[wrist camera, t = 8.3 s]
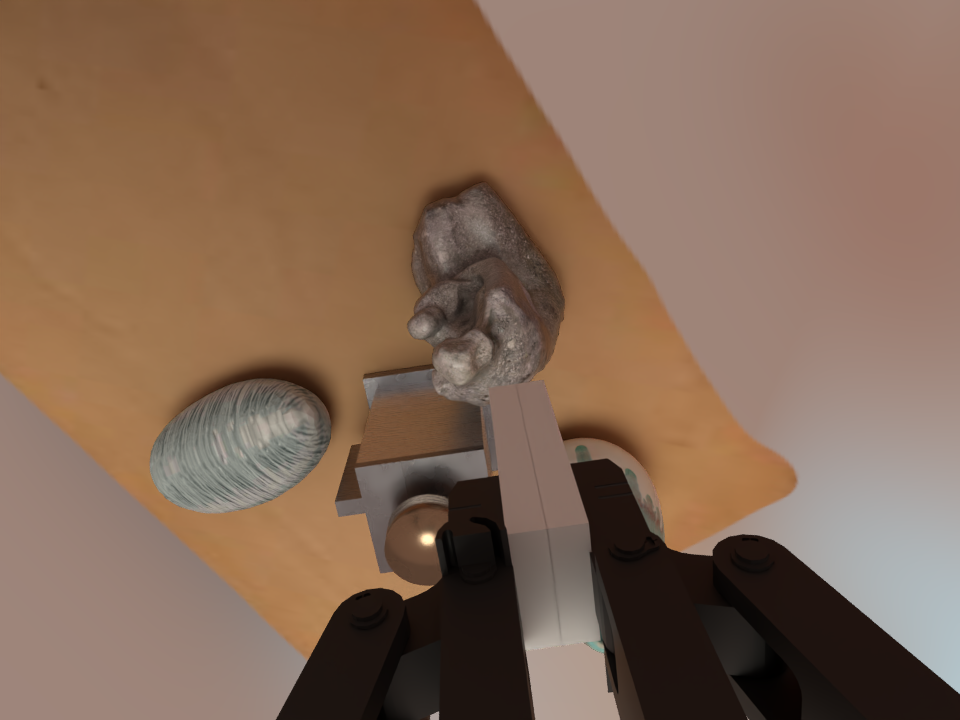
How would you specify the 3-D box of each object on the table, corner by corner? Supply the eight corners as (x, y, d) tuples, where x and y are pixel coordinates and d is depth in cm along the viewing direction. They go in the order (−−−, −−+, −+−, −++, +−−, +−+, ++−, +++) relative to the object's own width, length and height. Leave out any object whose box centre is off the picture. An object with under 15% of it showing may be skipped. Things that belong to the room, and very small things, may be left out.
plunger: (391, 419, 51) (372, 517, 39) (464, 408, 51) (467, 503, 39) (405, 482, 53) (390, 594, 41) (475, 472, 53) (481, 581, 41)
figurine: (420, 170, 49) (402, 208, 32) (577, 191, 50) (639, 238, 33) (404, 340, 54) (381, 449, 37) (548, 356, 55) (589, 470, 38)
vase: (661, 502, 60) (741, 657, 44) (544, 554, 62) (578, 723, 45) (610, 398, 56) (676, 524, 40) (486, 456, 58) (500, 601, 41)
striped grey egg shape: (196, 532, 56) (151, 544, 46) (160, 424, 57) (108, 414, 47) (353, 470, 58) (343, 469, 48) (316, 367, 59) (298, 346, 49)
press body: (346, 377, 55) (313, 461, 42) (486, 356, 55) (496, 434, 42) (371, 482, 58) (348, 589, 46) (502, 463, 58) (516, 565, 45)
